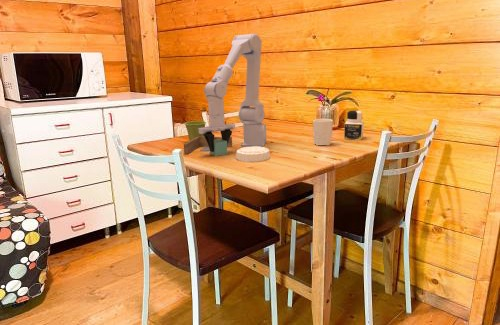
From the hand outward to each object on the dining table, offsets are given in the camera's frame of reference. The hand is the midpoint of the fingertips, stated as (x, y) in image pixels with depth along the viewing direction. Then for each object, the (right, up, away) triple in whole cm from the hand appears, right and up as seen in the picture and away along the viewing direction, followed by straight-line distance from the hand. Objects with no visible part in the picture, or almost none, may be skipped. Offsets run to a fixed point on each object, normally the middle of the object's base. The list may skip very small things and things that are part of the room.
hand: (218, 150), depth 144 cm
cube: (0, -1, 0) cm, 1 cm away
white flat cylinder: (+13, -3, -7) cm, 15 cm away
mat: (-4, +1, +9) cm, 9 cm away
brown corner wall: (-4, 0, +7) cm, 8 cm away
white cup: (+42, +3, +11) cm, 43 cm away
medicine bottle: (+57, +6, +21) cm, 61 cm away
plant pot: (-12, +4, +24) cm, 27 cm away
